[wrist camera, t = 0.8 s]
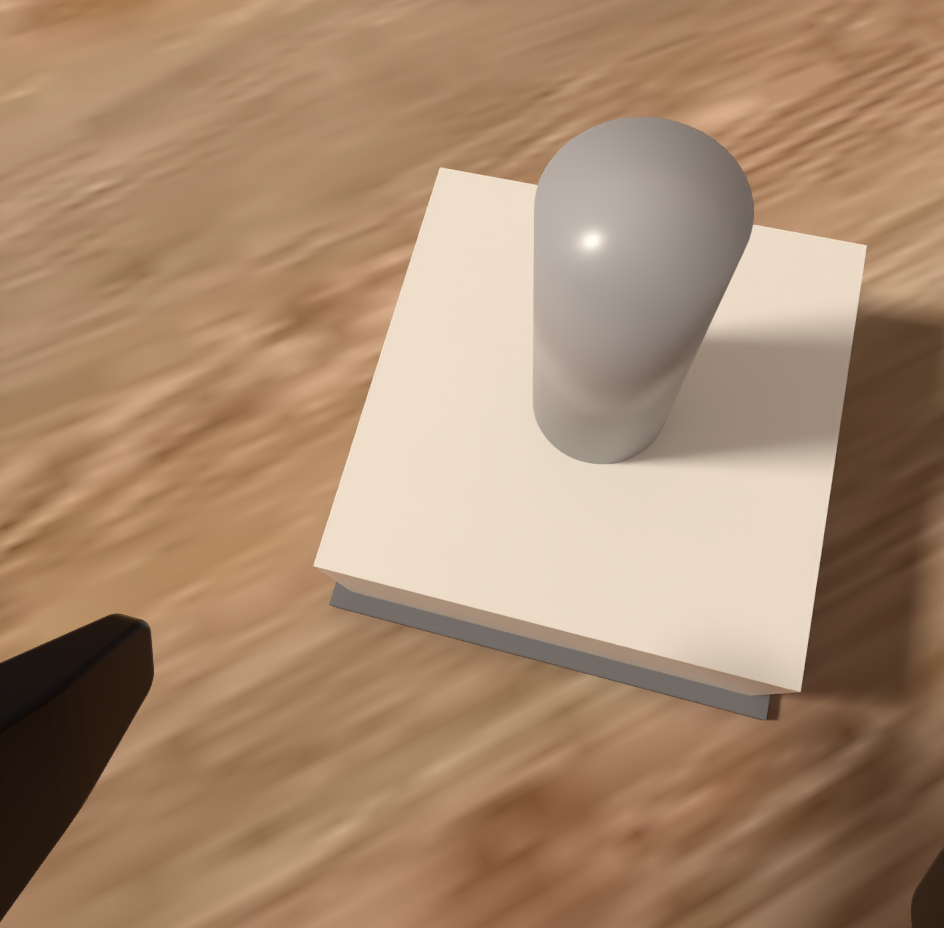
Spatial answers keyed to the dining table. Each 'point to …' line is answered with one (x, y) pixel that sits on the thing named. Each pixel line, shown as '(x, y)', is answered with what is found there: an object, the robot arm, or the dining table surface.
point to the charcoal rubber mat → (552, 654)
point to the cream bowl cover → (608, 413)
